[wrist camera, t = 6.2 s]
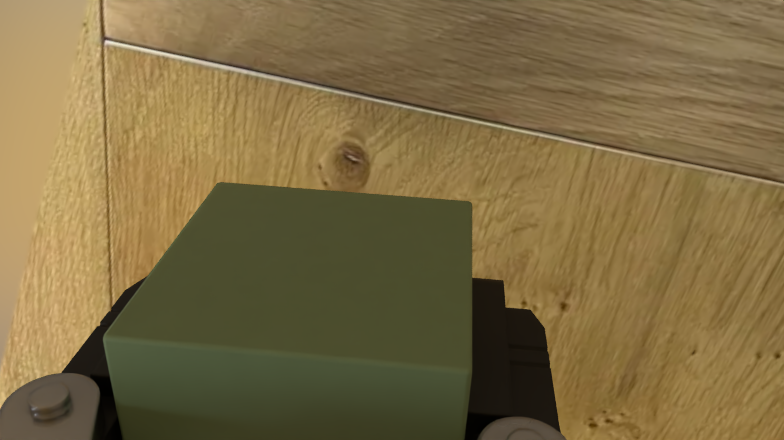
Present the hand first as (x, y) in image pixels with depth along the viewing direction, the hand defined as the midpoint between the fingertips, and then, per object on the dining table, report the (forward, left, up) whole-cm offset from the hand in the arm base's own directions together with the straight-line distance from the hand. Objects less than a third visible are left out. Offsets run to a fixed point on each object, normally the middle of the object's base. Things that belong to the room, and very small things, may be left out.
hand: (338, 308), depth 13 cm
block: (0, 0, 0) cm, 0 cm away
